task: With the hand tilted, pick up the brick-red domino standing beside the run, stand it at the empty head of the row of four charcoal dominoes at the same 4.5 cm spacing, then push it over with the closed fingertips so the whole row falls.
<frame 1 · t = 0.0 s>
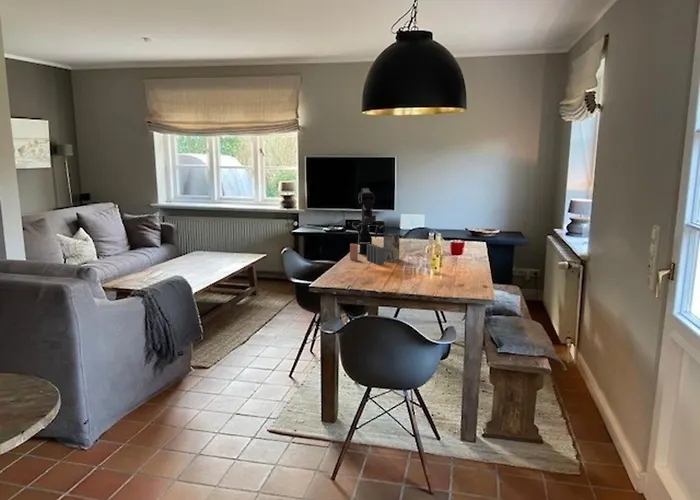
hand: (368, 238, 325), 15 cm above the table, tool pointing down, fingers open, 9 cm apart
domino 5: (379, 264, 326), on the table
domino 3: (373, 261, 334), on the table
domino 2: (370, 260, 338), on the table
loose domino: (353, 259, 339), on the table
domino 4: (376, 262, 330), on the table
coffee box: (391, 260, 339), on the table
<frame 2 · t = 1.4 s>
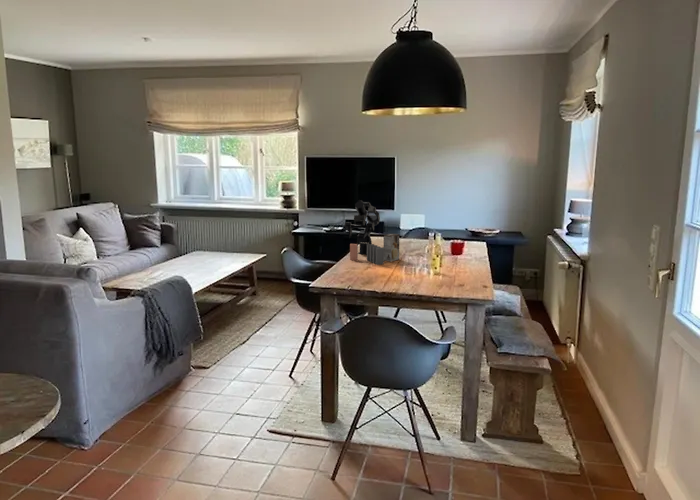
hand: (356, 237, 342), 13 cm above the table, tool tilted 45°, fingers open, 9 cm apart
nothing on the table moved.
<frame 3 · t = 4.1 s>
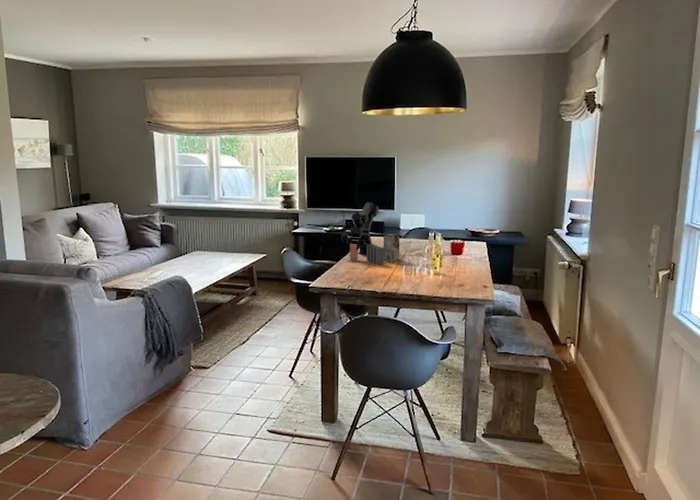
hand: (353, 249, 337), 7 cm above the table, tool tilted 45°, fingers closed on loose domino, 4 cm apart
loose domino: (353, 259, 339), on the table, touching gripper
everything else where it was.
when the fingers open (8 cm above the table, at t = 7.7 s): loose domino stays where it is, on the table.
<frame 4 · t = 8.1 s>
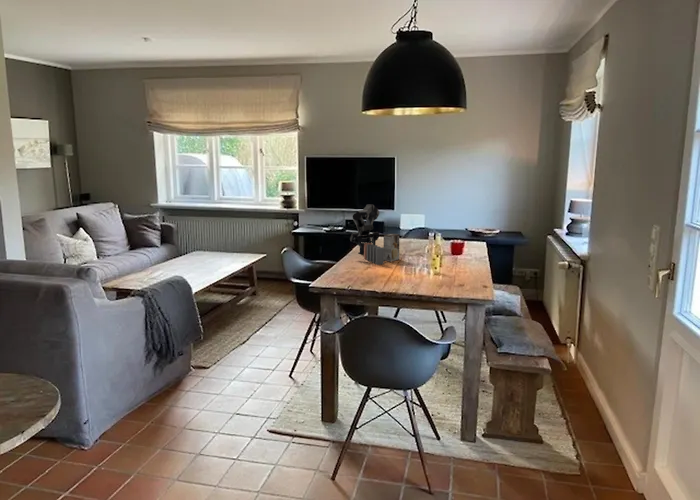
hand: (368, 247, 339), 8 cm above the table, tool tilted 45°, fingers open, 8 cm apart
loose domino: (367, 258, 342), on the table
everything else where it was.
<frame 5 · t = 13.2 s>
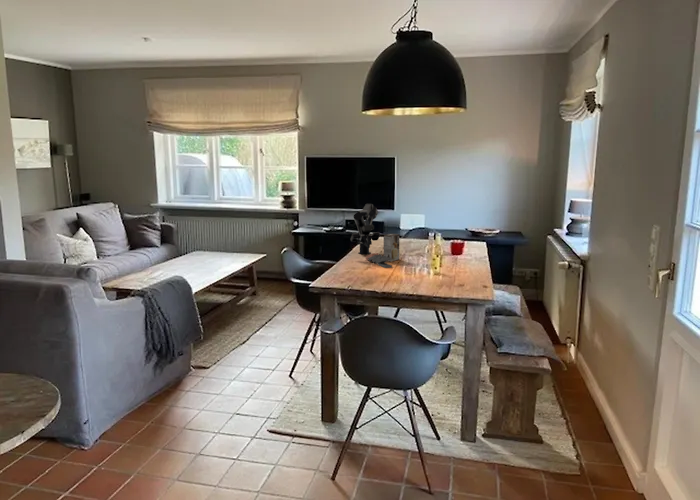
hand: (369, 247, 339), 8 cm above the table, tool tilted 45°, fingers closed
domino 5: (380, 264, 324), on the table, tilted 90°
domino 3: (375, 260, 331), point 1 cm above the table, tilted 68°, touching domino 2, domino 4
domino 2: (371, 259, 336), point 1 cm above the table, tilted 69°, touching domino 3, loose domino
loose domino: (368, 257, 340), point 1 cm above the table, tilted 69°, touching domino 2
domino 4: (378, 262, 327), point 1 cm above the table, tilted 68°, touching domino 3
everything else where it was.
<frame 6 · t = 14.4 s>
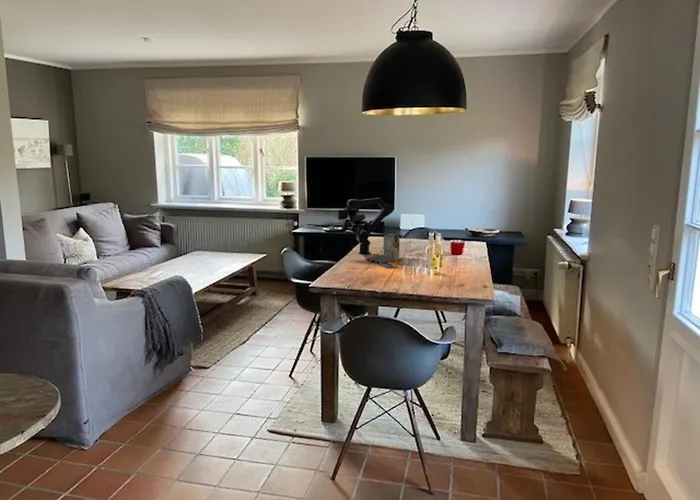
hand: (359, 236, 345), 13 cm above the table, tool tilted 45°, fingers closed
domino 5: (382, 264, 323), on the table, tilted 90°, touching domino 4
domino 3: (377, 260, 330), point 1 cm above the table, tilted 68°, touching domino 2, domino 4
domino 2: (372, 259, 335), point 1 cm above the table, tilted 69°, touching domino 3
loose domino: (368, 258, 339), point 1 cm above the table, tilted 68°
domino 4: (382, 262, 326), point 1 cm above the table, tilted 69°, touching domino 3, domino 5
everything else where it was.
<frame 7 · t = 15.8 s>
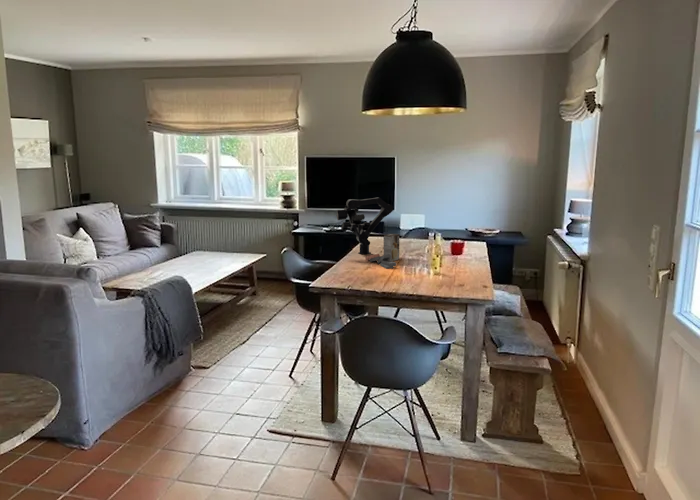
hand: (359, 236, 345), 13 cm above the table, tool tilted 45°, fingers closed
domino 5: (383, 264, 322), on the table, tilted 90°, touching domino 4
domino 3: (380, 262, 328), point 1 cm above the table, tilted 58°, touching domino 2
domino 2: (372, 260, 334), point 1 cm above the table, tilted 72°, touching domino 3, loose domino
loose domino: (368, 258, 338), point 1 cm above the table, tilted 72°, touching domino 2
domino 4: (384, 261, 323), point 2 cm above the table, tilted 90°, touching domino 5
everything else where it was.
at the end: loose domino 3.7 cm from the target spot, point 1.1 cm above the table; domino 5 tilted 90° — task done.
